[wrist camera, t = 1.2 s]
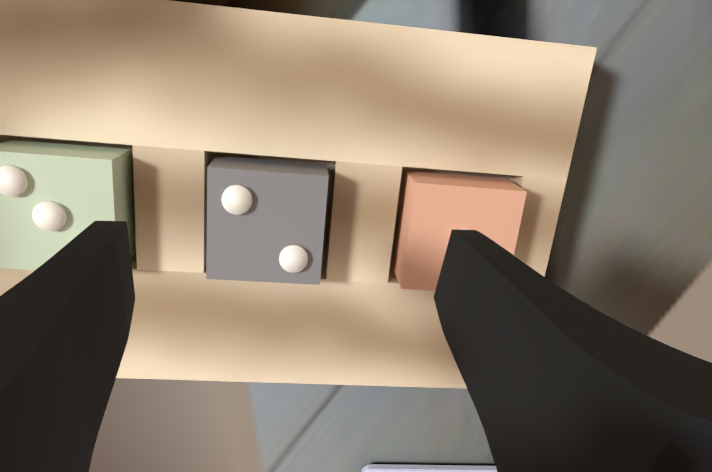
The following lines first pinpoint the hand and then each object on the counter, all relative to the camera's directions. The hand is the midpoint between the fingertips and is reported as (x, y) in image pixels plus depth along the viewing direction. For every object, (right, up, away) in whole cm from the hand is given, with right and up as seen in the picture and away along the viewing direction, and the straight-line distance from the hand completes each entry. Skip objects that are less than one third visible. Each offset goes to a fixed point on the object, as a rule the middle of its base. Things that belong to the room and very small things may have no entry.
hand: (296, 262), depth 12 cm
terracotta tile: (+5, +1, +9) cm, 10 cm away
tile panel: (-2, +2, +10) cm, 10 cm away
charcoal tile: (-2, +1, +8) cm, 9 cm away
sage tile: (-9, +2, +7) cm, 12 cm away
